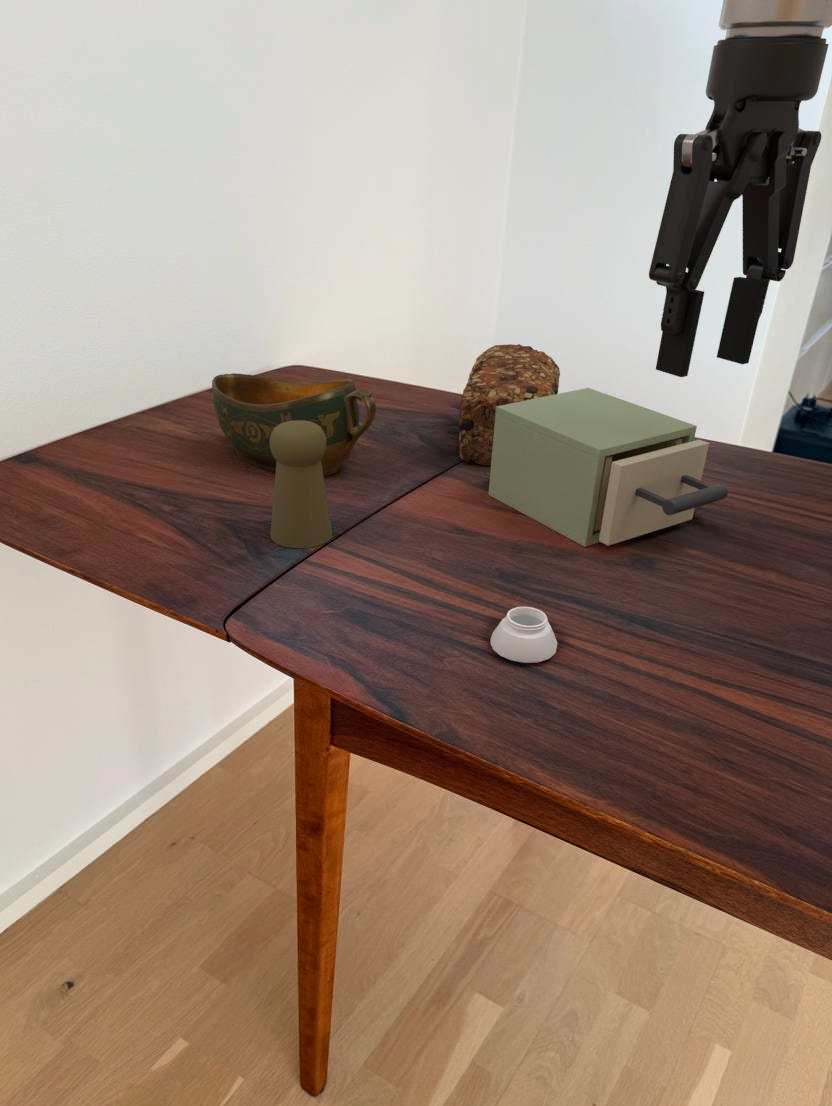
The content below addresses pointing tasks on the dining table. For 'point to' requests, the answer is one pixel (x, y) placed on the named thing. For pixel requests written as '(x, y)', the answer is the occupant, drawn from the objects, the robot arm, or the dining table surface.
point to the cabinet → (568, 454)
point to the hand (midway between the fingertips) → (702, 365)
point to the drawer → (652, 489)
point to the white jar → (524, 636)
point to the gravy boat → (289, 414)
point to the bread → (500, 393)
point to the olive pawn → (299, 486)
